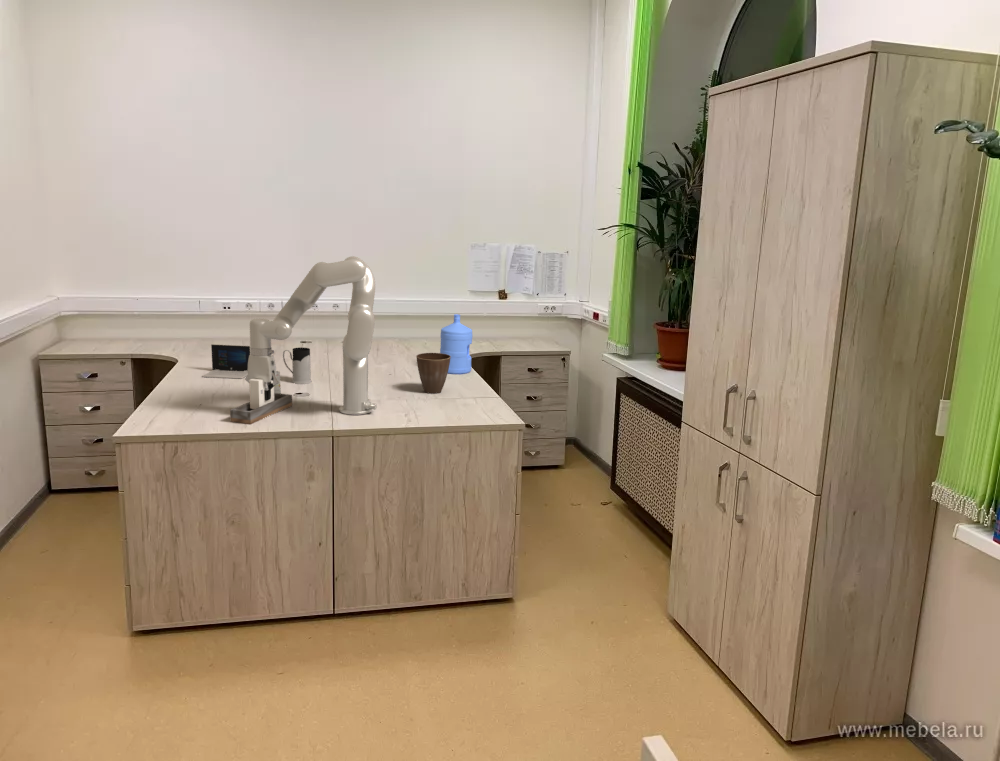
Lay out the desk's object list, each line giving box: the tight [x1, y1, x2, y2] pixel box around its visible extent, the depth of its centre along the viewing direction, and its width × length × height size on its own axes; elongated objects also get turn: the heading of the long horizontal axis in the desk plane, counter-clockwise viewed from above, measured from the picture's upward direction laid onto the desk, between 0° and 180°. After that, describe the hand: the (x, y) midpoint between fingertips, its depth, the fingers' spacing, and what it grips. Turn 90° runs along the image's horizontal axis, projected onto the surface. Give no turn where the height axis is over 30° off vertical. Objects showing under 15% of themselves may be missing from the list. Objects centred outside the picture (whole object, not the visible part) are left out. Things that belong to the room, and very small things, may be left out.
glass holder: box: [282, 347, 313, 385], centre depth 341 cm, size 9×14×15 cm, turn 68°
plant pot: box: [415, 352, 451, 395], centre depth 333 cm, size 15×15×16 cm
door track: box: [229, 392, 293, 425], centre depth 291 cm, size 8×28×4 cm, turn 164°
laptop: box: [201, 344, 251, 380], centre depth 347 cm, size 18×12×13 cm
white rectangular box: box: [248, 378, 274, 409], centre depth 289 cm, size 4×10×11 cm, turn 164°
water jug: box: [439, 313, 473, 375], centre depth 374 cm, size 16×16×28 cm
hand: (262, 398), depth 290 cm, fingers closed on white rectangular box, 3 cm apart
